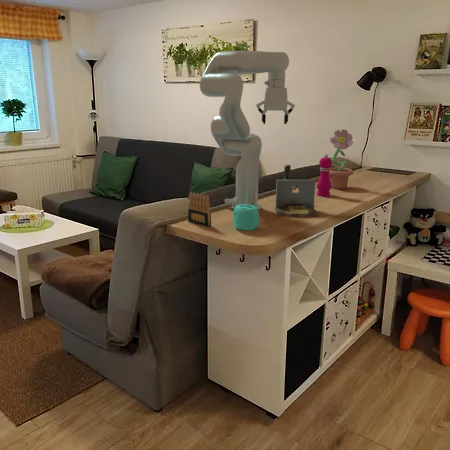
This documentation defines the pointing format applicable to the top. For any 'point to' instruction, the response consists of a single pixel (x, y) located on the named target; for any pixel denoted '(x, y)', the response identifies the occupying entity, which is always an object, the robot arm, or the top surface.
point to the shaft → (288, 174)
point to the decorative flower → (340, 174)
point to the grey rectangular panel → (295, 193)
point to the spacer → (297, 209)
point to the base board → (285, 213)
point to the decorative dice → (246, 217)
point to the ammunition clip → (199, 210)
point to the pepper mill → (324, 177)
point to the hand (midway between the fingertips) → (274, 123)
